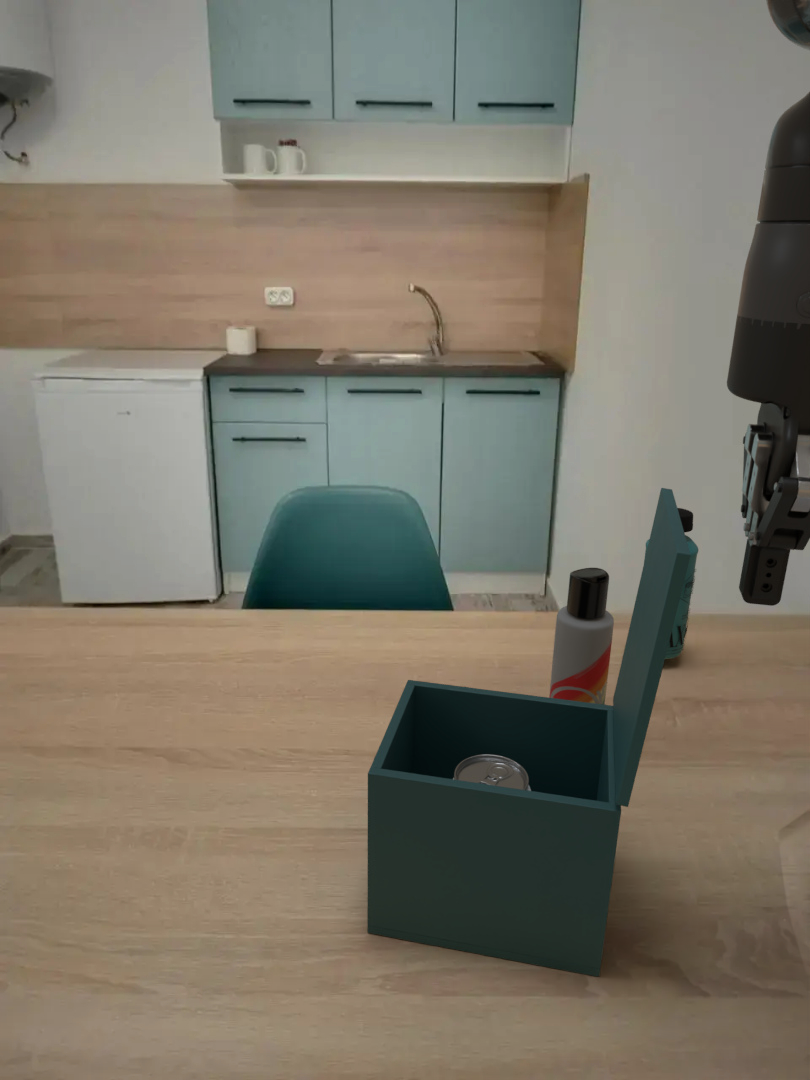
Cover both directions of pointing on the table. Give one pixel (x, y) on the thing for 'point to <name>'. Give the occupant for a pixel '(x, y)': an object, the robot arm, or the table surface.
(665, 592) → the lid
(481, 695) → the dark teal storage box
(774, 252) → the robot arm
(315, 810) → the table surface
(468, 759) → the can
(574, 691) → the lotion bottle
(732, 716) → the table surface
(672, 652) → the beverage bottle
